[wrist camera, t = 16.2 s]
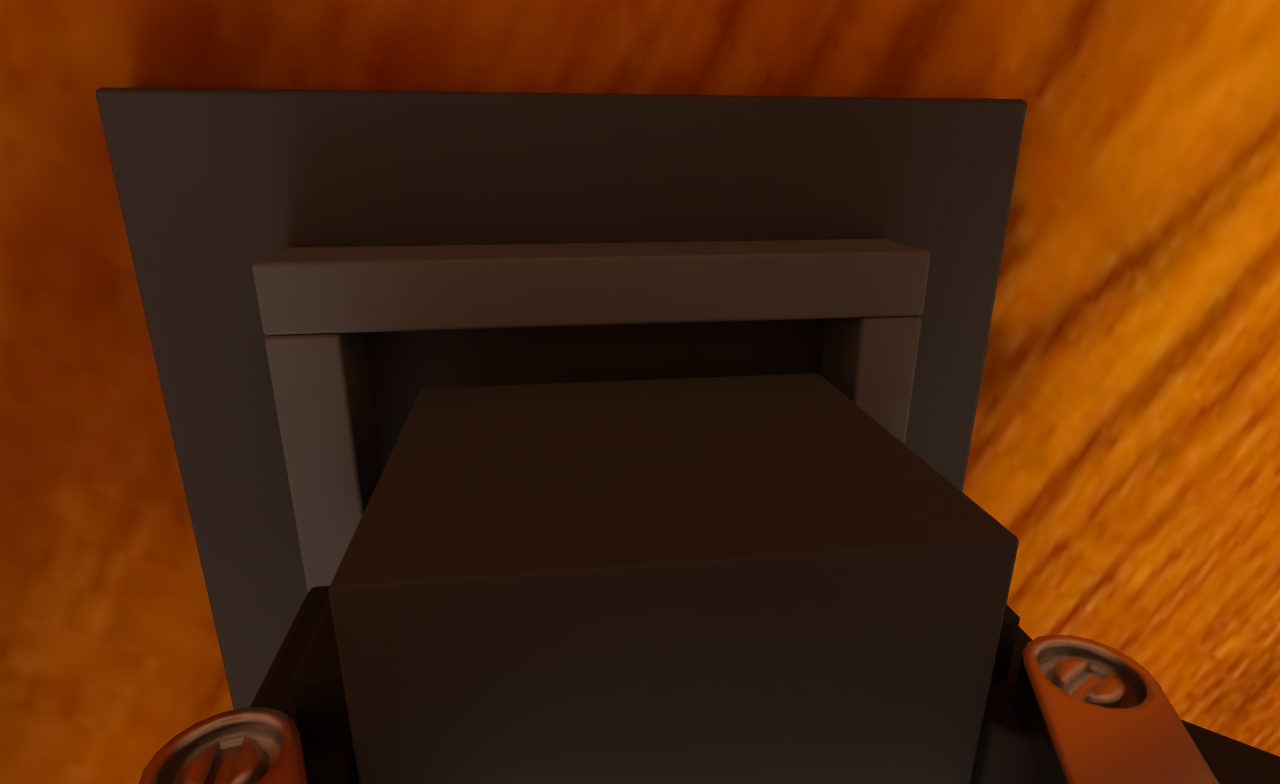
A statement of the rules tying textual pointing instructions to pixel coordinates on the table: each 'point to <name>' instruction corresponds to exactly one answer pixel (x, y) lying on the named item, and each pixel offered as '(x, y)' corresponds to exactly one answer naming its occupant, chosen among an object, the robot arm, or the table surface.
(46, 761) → the table surface
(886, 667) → the dark block
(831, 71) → the table surface
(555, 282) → the base pad
